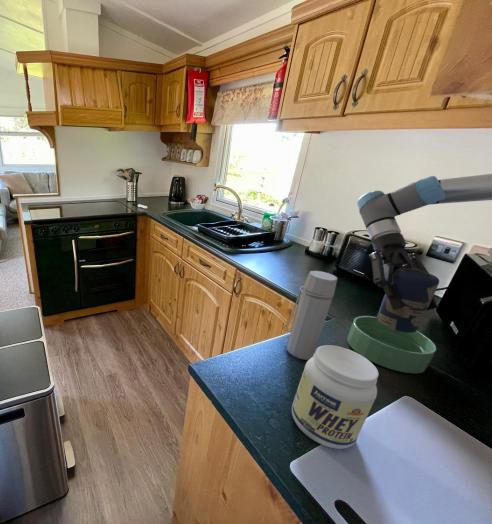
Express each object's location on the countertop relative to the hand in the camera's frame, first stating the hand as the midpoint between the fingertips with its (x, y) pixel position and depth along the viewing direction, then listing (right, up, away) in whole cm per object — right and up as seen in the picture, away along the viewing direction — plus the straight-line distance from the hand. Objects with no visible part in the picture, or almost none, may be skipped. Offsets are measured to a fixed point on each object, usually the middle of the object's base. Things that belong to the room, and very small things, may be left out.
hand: (415, 308), depth 79 cm
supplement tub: (-37, -22, -18) cm, 47 cm away
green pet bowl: (-1, -15, +9) cm, 17 cm away
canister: (-1, -6, +6) cm, 9 cm away
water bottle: (-30, -14, +6) cm, 33 cm away
